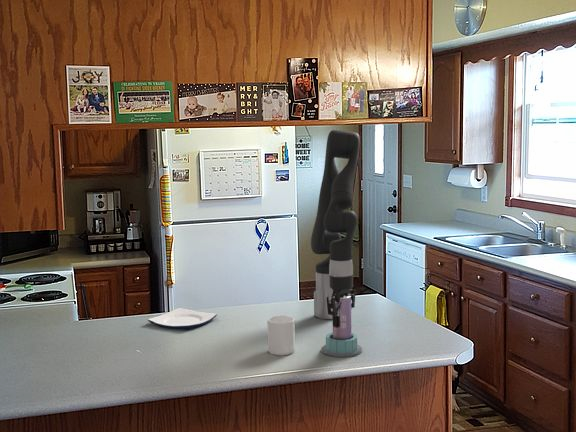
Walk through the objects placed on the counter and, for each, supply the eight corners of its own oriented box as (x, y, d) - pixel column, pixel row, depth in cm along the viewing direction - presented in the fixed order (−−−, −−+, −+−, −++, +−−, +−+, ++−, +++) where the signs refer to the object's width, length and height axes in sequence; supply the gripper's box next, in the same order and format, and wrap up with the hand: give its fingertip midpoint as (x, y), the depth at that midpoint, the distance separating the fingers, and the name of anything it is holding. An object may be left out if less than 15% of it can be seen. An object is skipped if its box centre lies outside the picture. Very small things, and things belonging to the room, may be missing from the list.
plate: (221, 320, 270) (221, 313, 269) (187, 334, 252) (186, 326, 252) (179, 313, 280) (179, 306, 280) (143, 326, 263) (143, 319, 263)
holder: (313, 352, 229) (313, 338, 228) (335, 342, 239) (335, 328, 238) (348, 360, 221) (348, 345, 220) (369, 349, 231) (369, 334, 231)
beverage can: (351, 338, 232) (351, 293, 230) (351, 344, 226) (351, 298, 224) (333, 338, 233) (332, 293, 231) (332, 344, 227) (332, 298, 225)
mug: (290, 343, 239) (290, 312, 237) (297, 355, 227) (296, 322, 225) (265, 345, 237) (264, 313, 236) (270, 356, 225) (269, 323, 224)
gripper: (343, 267, 235) (343, 317, 237) (318, 276, 223) (319, 328, 225) (362, 270, 230) (363, 321, 232) (339, 278, 219) (339, 332, 221)
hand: (341, 324), depth 229 cm, fingers closed on beverage can, 6 cm apart
